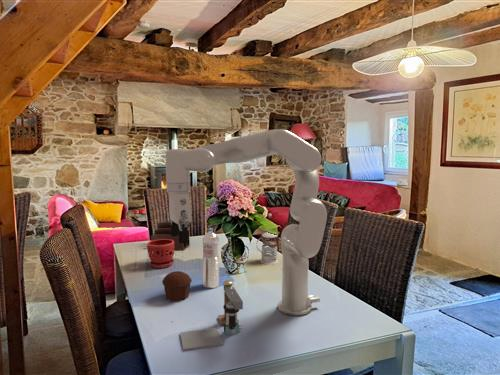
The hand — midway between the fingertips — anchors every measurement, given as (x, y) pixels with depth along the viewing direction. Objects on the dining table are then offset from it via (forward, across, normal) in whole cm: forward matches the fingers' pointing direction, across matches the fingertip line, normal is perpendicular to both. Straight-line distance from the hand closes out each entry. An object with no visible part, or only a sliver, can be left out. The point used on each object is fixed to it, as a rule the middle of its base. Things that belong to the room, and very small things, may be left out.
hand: (179, 239), depth 126 cm
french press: (+30, +47, -59) cm, 81 cm away
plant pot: (+30, +64, -8) cm, 71 cm away
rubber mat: (+30, -12, -3) cm, 32 cm away
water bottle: (+30, +28, -21) cm, 46 cm away
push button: (+30, -12, -14) cm, 35 cm away
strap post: (+30, -4, -15) cm, 34 cm away
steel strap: (+19, -11, -14) cm, 26 cm away
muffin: (+30, +23, -5) cm, 38 cm away
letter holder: (+30, +94, -20) cm, 101 cm away
